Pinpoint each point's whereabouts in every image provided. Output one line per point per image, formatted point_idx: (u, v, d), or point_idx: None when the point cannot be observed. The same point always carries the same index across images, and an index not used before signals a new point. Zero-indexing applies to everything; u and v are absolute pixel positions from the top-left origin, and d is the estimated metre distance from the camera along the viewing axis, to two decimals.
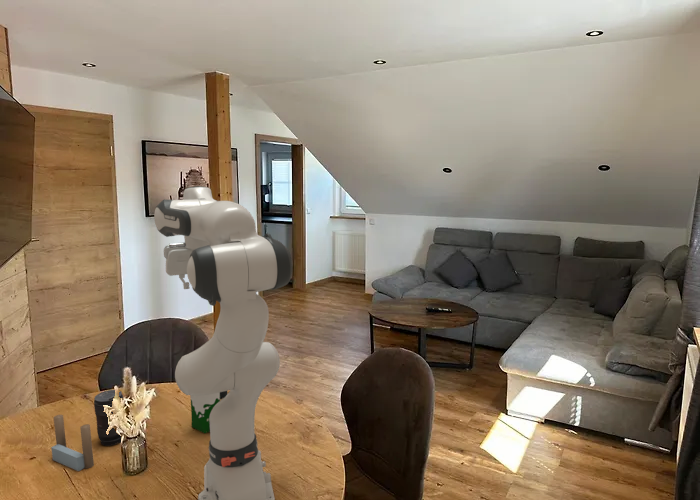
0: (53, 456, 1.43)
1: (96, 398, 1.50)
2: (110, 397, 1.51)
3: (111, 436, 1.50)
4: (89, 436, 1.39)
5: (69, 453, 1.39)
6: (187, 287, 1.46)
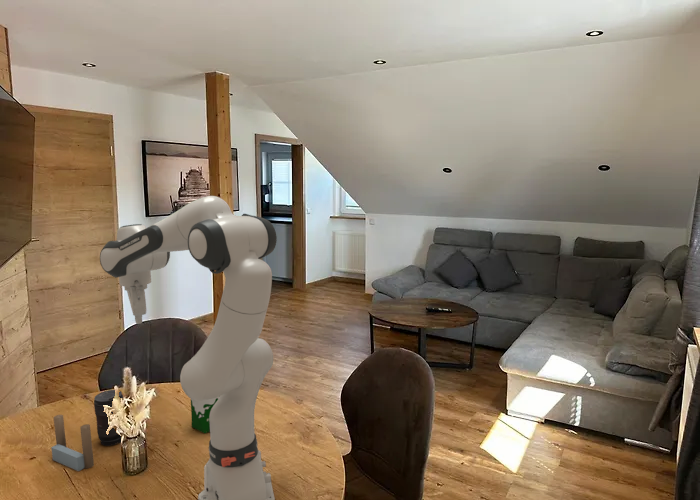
0: (53, 456, 1.43)
1: (96, 398, 1.50)
2: (110, 397, 1.51)
3: (111, 436, 1.50)
4: (89, 436, 1.39)
5: (69, 453, 1.39)
6: (141, 321, 1.50)
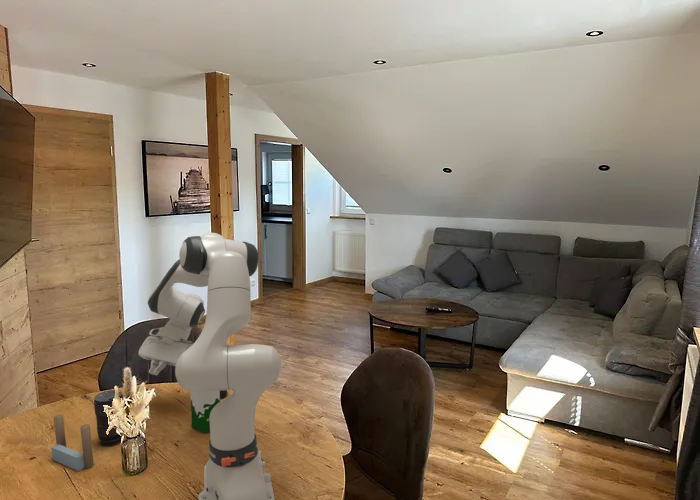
0: (53, 456, 1.43)
1: (96, 398, 1.50)
2: (110, 397, 1.51)
3: (111, 436, 1.50)
4: (89, 436, 1.39)
5: (69, 453, 1.39)
6: None
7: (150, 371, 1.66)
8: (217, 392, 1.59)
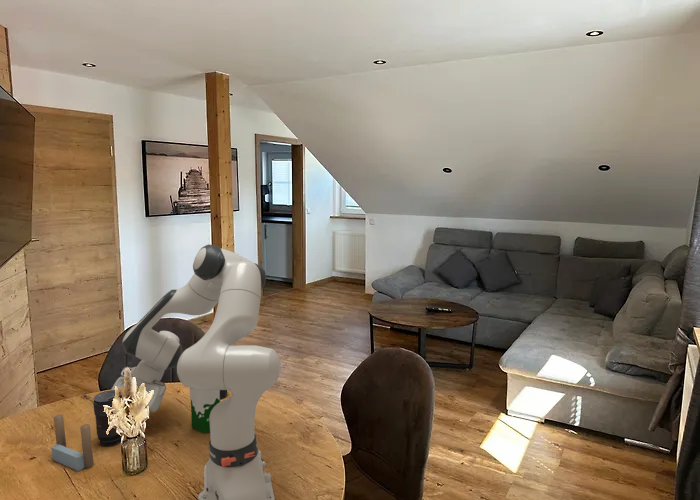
0: (53, 456, 1.43)
1: (95, 398, 1.50)
2: (109, 397, 1.50)
3: (111, 436, 1.50)
4: (89, 436, 1.39)
5: (69, 453, 1.39)
6: None
7: None
8: (217, 392, 1.59)
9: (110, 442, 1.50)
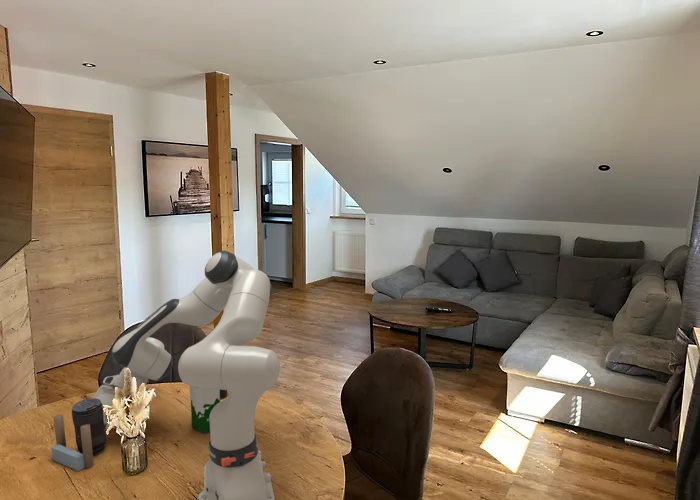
0: (53, 456, 1.43)
1: (74, 408, 1.44)
2: (88, 406, 1.44)
3: None
4: (89, 436, 1.39)
5: (69, 453, 1.39)
6: None
7: None
8: (217, 392, 1.59)
9: None
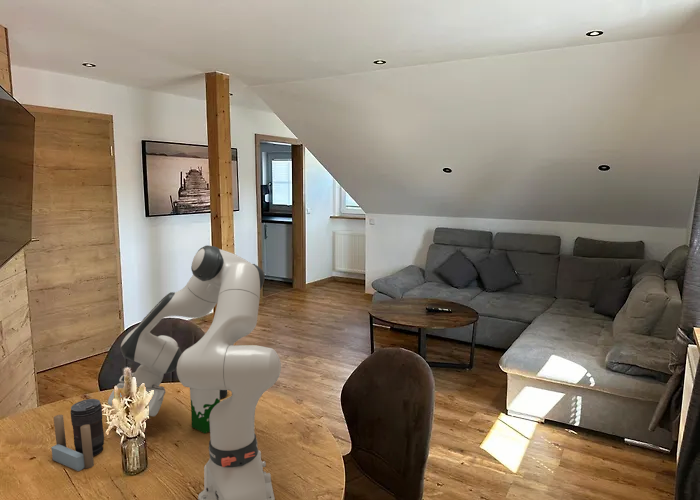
0: (53, 456, 1.43)
1: (73, 408, 1.44)
2: (87, 407, 1.44)
3: None
4: (89, 436, 1.39)
5: (69, 453, 1.39)
6: None
7: None
8: (217, 392, 1.59)
9: None
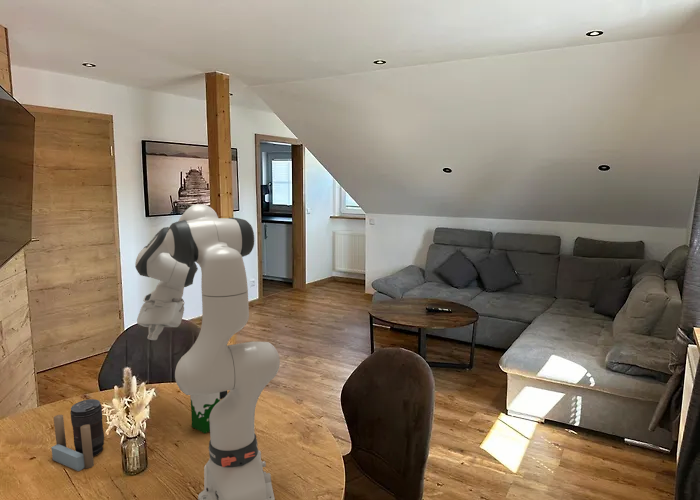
0: (53, 456, 1.43)
1: (73, 408, 1.43)
2: (87, 407, 1.44)
3: None
4: (89, 436, 1.39)
5: (69, 453, 1.39)
6: None
7: (148, 337, 1.58)
8: None
9: None
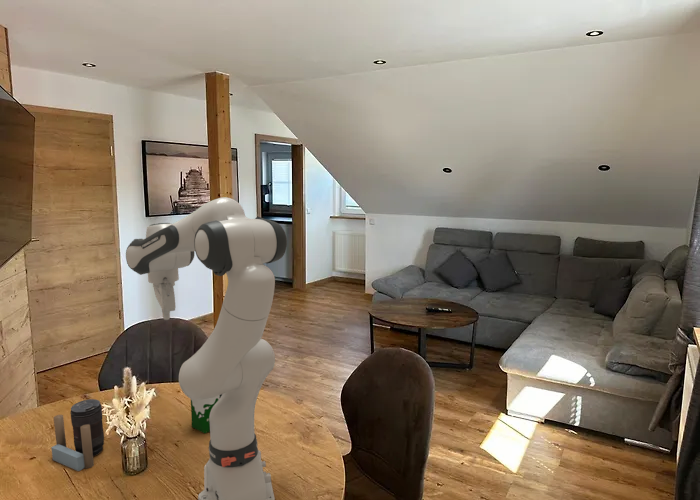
0: (53, 456, 1.43)
1: (73, 408, 1.43)
2: (87, 407, 1.44)
3: None
4: (89, 436, 1.39)
5: (69, 453, 1.39)
6: None
7: None
8: None
9: None
